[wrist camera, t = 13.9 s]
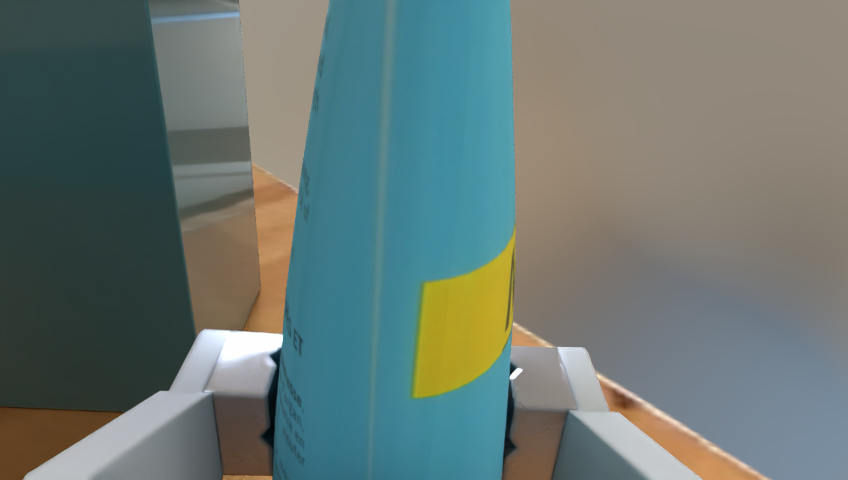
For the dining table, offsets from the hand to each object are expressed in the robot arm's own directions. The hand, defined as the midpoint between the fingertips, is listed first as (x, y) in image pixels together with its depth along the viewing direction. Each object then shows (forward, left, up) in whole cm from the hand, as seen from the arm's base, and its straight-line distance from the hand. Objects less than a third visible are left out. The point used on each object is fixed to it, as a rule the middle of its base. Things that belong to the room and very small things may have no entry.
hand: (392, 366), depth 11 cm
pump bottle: (-12, +13, -10) cm, 21 cm away
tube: (0, -1, -10) cm, 10 cm away
